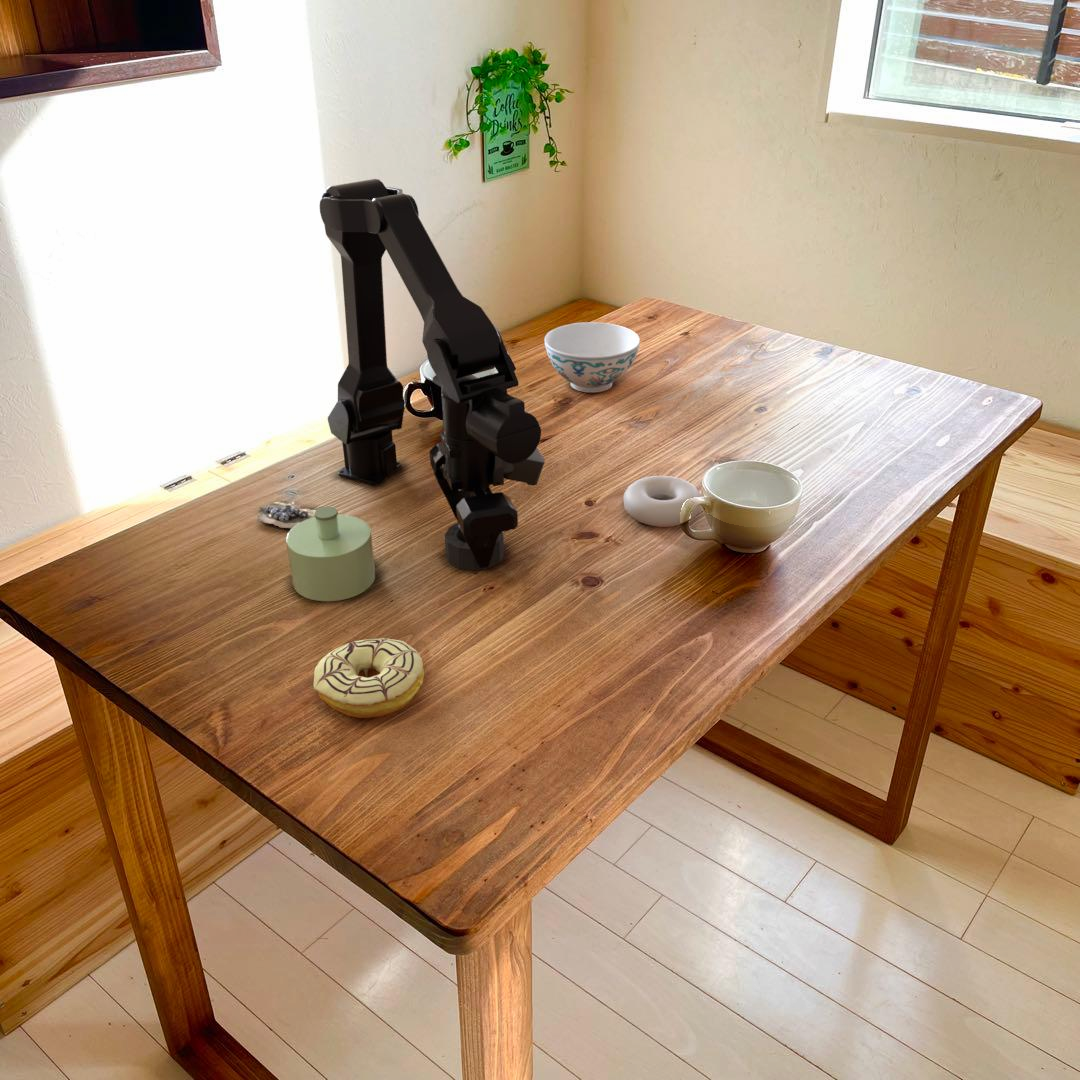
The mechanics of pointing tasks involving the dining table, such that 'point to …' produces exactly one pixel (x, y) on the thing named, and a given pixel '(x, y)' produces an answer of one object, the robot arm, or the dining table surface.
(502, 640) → the dining table surface
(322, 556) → the green cylinder with peg
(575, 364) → the chinaware
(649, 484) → the donut
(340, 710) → the decorated donut
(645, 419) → the dining table surface
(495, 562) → the rubber ring
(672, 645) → the dining table surface
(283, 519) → the blueberry tart
